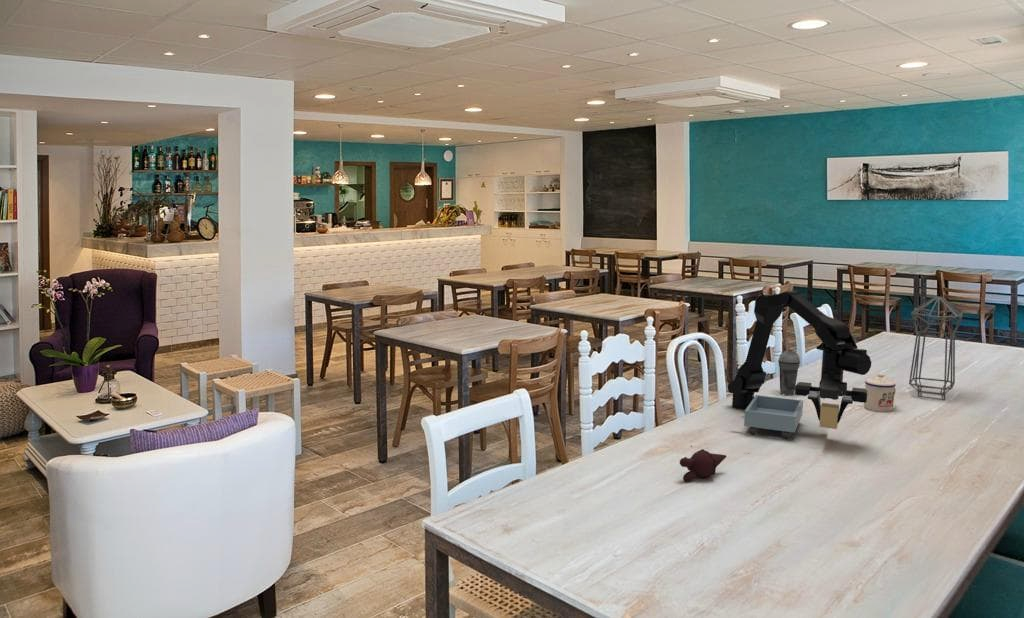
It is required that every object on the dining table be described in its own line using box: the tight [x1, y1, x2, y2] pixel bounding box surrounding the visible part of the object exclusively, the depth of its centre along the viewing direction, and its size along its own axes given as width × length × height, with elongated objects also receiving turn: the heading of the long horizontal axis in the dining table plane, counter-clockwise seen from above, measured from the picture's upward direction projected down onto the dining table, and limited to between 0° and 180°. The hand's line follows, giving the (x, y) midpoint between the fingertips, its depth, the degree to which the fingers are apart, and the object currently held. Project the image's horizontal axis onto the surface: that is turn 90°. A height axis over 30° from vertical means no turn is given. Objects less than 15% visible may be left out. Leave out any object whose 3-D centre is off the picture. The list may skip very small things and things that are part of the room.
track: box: [724, 414, 806, 442], centre depth 233 cm, size 20×22×1 cm
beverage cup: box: [777, 337, 801, 396], centre depth 276 cm, size 7×7×20 cm
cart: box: [743, 394, 804, 439], centre depth 231 cm, size 14×20×7 cm
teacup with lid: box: [863, 372, 897, 413], centre depth 259 cm, size 12×9×12 cm
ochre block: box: [818, 402, 840, 430], centre depth 224 cm, size 4×4×6 cm
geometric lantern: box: [908, 296, 964, 401], centre depth 273 cm, size 16×16×35 cm
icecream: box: [679, 448, 727, 482], centre depth 196 cm, size 7×7×15 cm
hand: (828, 421), depth 225 cm, fingers closed on ochre block, 4 cm apart
